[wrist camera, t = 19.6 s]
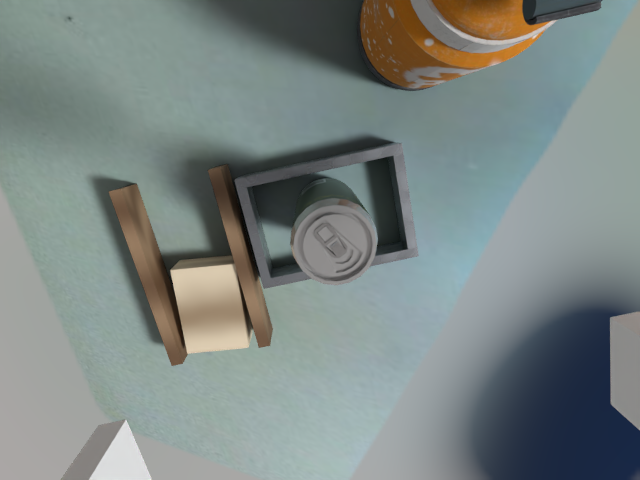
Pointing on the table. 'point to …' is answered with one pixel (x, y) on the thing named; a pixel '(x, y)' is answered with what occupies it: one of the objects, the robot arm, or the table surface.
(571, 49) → the table surface
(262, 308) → the beam
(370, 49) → the canister
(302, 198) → the beer can
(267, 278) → the frame
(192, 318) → the block
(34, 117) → the table surface
